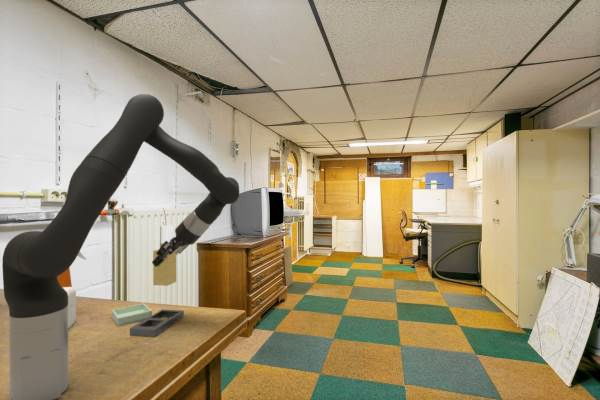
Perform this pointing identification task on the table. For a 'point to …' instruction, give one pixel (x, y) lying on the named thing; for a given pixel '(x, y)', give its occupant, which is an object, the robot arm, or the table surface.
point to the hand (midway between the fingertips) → (159, 262)
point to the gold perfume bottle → (165, 270)
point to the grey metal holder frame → (156, 323)
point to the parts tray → (131, 314)
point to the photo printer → (71, 305)
